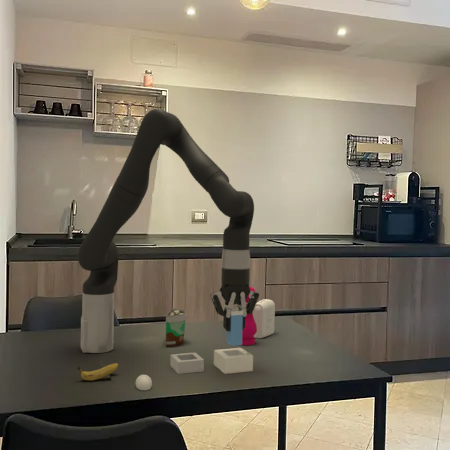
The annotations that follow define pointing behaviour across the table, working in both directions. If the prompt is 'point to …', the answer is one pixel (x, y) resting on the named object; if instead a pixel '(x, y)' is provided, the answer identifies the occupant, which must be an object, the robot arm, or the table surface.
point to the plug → (235, 328)
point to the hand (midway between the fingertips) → (234, 330)
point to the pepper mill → (249, 327)
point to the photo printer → (264, 318)
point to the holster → (187, 363)
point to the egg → (143, 382)
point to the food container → (175, 327)
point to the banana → (98, 372)
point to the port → (233, 360)
